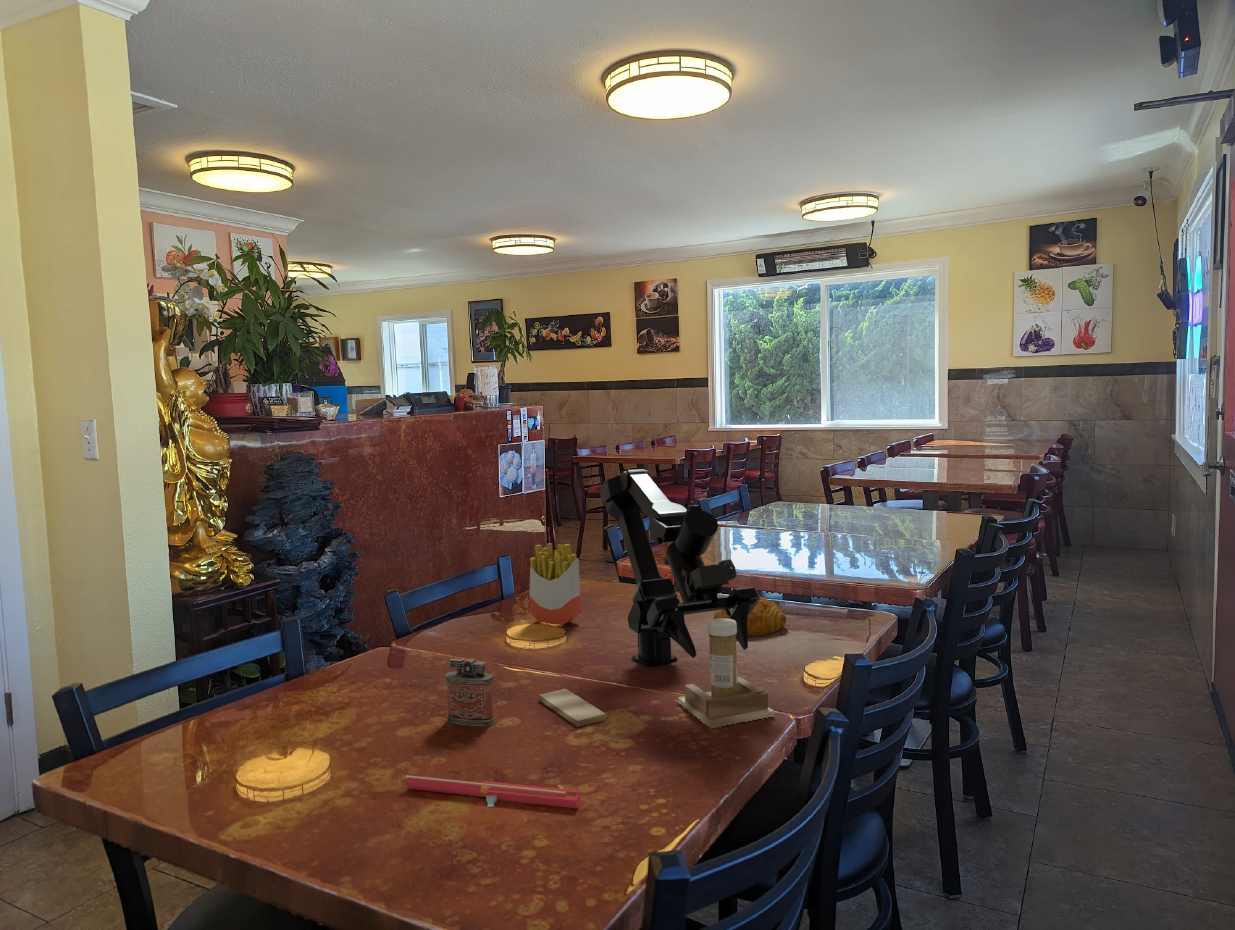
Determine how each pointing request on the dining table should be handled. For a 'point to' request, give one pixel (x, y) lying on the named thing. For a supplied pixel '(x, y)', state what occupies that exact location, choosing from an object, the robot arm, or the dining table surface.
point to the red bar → (498, 791)
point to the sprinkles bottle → (723, 657)
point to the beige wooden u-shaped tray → (727, 705)
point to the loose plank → (572, 707)
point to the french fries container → (554, 585)
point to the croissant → (761, 618)
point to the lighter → (469, 693)
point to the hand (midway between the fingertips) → (720, 652)
